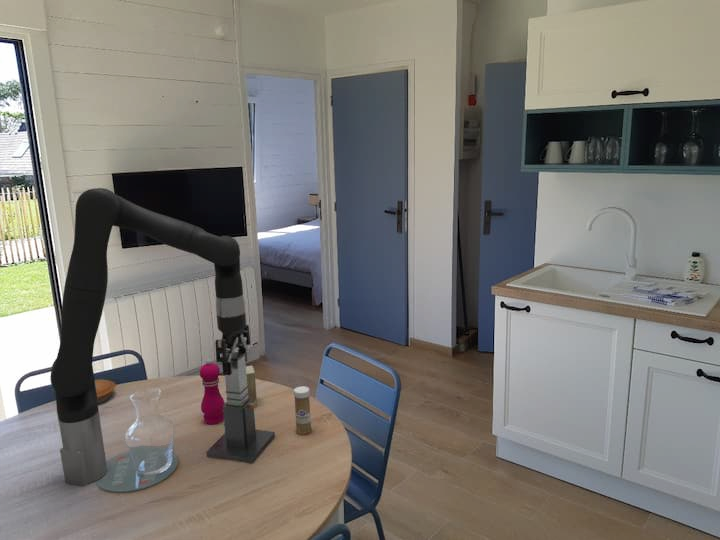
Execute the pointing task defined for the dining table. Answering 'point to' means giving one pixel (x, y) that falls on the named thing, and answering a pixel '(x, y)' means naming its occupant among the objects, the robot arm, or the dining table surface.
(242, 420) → the base
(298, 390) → the sprinkles bottle
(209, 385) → the pepper mill
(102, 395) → the pie
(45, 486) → the dining table surface
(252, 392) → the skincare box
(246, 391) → the post
